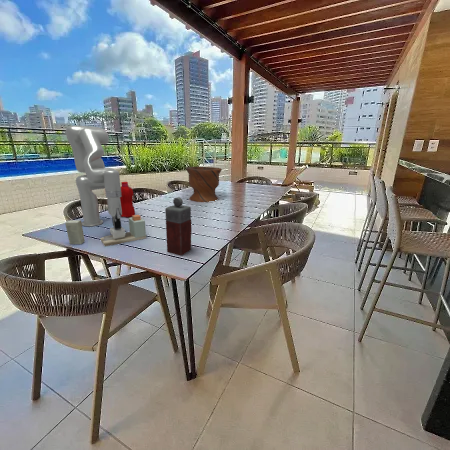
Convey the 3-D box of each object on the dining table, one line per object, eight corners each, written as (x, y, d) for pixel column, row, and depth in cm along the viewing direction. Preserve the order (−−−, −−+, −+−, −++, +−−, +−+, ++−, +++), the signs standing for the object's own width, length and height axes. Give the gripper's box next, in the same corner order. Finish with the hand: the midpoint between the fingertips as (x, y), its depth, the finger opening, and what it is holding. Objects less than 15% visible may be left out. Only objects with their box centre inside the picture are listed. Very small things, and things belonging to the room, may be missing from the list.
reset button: (132, 220, 142) (132, 215, 141) (138, 219, 144) (138, 214, 143) (134, 222, 139) (134, 217, 138) (140, 221, 141) (140, 216, 140)
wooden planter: (200, 204, 220) (200, 171, 211) (179, 197, 244) (178, 167, 235) (228, 199, 243) (229, 169, 233) (206, 193, 267) (206, 166, 257)
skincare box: (85, 241, 135) (81, 220, 131) (81, 244, 131) (77, 222, 127) (73, 241, 135) (69, 219, 131) (68, 244, 131) (64, 222, 127)
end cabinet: (129, 232, 146) (128, 217, 143) (139, 230, 149) (138, 216, 146) (135, 237, 138) (134, 222, 135) (146, 235, 142) (144, 220, 139)
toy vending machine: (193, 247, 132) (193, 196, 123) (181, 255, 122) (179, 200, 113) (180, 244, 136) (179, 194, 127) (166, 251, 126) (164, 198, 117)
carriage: (110, 236, 138) (108, 215, 134) (122, 234, 142) (120, 214, 138) (114, 240, 133) (111, 219, 129) (125, 237, 137) (123, 217, 133)
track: (100, 240, 137) (99, 234, 136) (140, 232, 150) (139, 227, 149) (105, 246, 130) (104, 240, 128) (146, 238, 142) (145, 232, 141)
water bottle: (132, 218, 176) (129, 183, 168) (118, 217, 178) (114, 182, 170) (139, 215, 184) (136, 181, 176) (125, 213, 186) (122, 180, 178)
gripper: (102, 191, 134) (106, 224, 139) (109, 197, 121) (113, 232, 127) (116, 190, 138) (120, 222, 144) (125, 196, 126) (128, 230, 132)
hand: (117, 226), depth 135 cm, fingers closed on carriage, 3 cm apart
